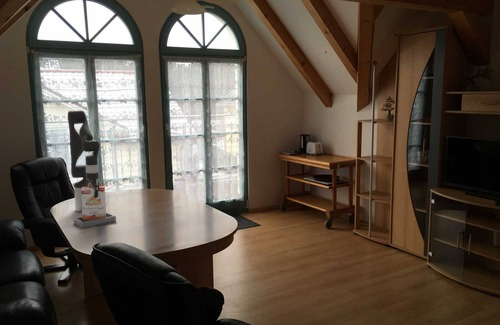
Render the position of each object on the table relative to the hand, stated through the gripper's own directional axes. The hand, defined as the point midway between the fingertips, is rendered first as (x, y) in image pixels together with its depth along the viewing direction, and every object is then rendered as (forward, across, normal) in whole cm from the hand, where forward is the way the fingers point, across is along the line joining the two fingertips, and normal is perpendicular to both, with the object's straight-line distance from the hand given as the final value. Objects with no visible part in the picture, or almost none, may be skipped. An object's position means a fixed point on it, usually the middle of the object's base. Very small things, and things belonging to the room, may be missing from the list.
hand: (93, 196), depth 267 cm
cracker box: (+15, 0, 0) cm, 15 cm away
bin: (+18, 0, 0) cm, 18 cm away
